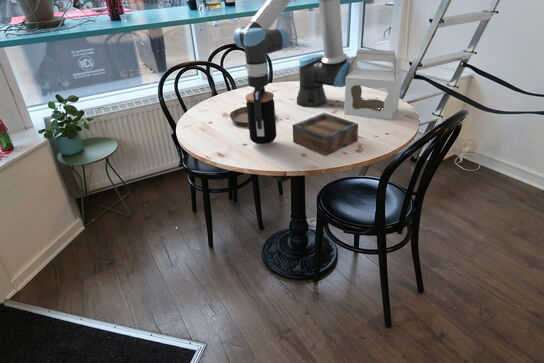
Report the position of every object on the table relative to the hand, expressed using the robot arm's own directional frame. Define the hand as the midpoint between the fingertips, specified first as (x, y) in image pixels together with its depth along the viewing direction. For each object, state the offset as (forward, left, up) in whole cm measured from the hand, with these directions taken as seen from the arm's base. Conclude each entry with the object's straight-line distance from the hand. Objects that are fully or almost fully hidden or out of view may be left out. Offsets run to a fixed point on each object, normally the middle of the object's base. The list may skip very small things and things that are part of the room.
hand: (262, 129), depth 148 cm
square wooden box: (-19, +16, -6) cm, 25 cm away
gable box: (-57, +9, -7) cm, 58 cm away
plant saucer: (-14, -26, -7) cm, 30 cm away
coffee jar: (0, 0, -4) cm, 4 cm away
